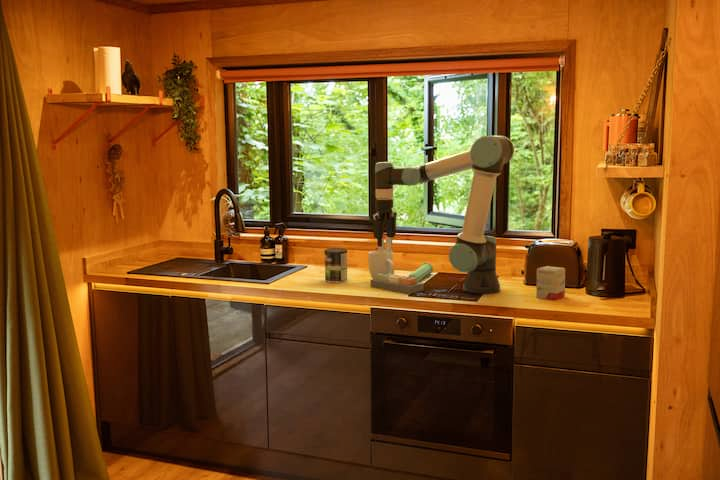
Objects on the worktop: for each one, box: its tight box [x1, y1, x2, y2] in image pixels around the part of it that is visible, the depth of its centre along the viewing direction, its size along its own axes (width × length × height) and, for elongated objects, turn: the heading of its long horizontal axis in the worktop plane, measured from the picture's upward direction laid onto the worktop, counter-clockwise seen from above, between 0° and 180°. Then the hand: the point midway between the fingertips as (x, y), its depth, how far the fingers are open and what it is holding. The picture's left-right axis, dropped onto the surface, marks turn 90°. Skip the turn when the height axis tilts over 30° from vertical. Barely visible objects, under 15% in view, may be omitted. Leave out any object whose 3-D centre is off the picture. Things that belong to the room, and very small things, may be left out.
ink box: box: [535, 265, 566, 301], centre depth 285 cm, size 9×9×12 cm
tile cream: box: [388, 274, 406, 284], centre depth 305 cm, size 5×5×4 cm
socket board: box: [370, 279, 425, 295], centre depth 305 cm, size 22×9×3 cm, turn 46°
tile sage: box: [377, 273, 393, 282], centre depth 309 cm, size 5×5×4 cm
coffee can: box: [323, 247, 348, 284], centre depth 323 cm, size 10×10×14 cm
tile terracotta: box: [400, 275, 417, 286], centre depth 300 cm, size 5×5×4 cm
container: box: [407, 262, 434, 283], centre depth 324 cm, size 6×6×25 cm
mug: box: [367, 249, 395, 280], centre depth 319 cm, size 15×11×13 cm
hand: (385, 253), depth 308 cm, fingers open, 4 cm apart
